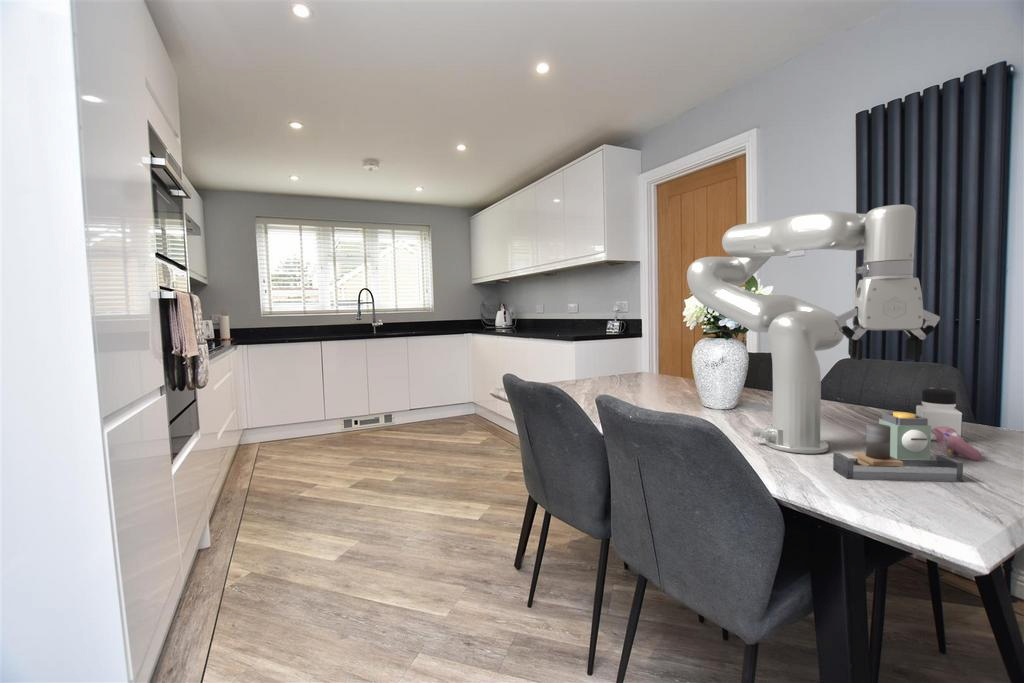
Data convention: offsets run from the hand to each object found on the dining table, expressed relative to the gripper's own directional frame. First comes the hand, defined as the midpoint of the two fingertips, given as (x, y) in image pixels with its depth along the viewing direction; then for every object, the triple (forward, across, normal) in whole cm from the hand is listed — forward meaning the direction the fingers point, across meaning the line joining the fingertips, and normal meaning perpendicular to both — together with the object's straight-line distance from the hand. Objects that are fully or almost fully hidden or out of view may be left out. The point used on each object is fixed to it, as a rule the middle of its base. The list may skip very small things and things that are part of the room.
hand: (883, 359), depth 90 cm
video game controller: (+22, +20, +12) cm, 32 cm away
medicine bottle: (+22, +25, +26) cm, 43 cm away
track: (+22, 0, -4) cm, 22 cm away
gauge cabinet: (+22, +7, +6) cm, 24 cm away
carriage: (+20, -3, -5) cm, 21 cm away
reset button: (+14, +7, +6) cm, 17 cm away
